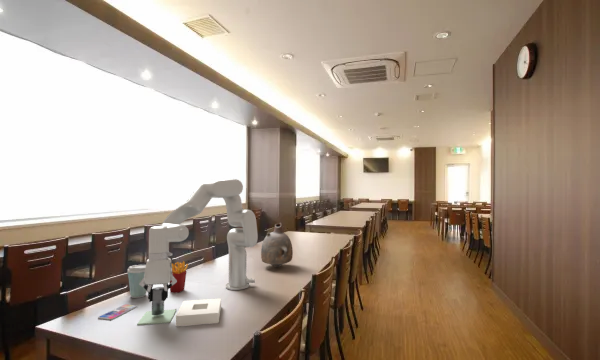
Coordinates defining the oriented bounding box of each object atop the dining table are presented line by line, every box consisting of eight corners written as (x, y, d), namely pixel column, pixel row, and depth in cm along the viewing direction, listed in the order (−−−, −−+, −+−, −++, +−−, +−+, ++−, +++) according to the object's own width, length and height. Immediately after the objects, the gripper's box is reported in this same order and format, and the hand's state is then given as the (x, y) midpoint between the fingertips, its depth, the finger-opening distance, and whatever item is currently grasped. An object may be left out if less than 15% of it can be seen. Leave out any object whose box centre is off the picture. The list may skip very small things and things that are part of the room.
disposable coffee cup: (134, 292, 155) (135, 262, 155) (155, 292, 155) (155, 263, 155) (121, 299, 144) (122, 268, 145) (143, 299, 144) (144, 268, 144)
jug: (252, 268, 202) (253, 223, 203) (273, 261, 220) (273, 220, 221) (281, 273, 188) (281, 225, 189) (300, 266, 206) (300, 222, 207)
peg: (165, 310, 127) (165, 286, 127) (162, 314, 122) (162, 290, 123) (153, 311, 126) (153, 287, 126) (150, 315, 121) (150, 290, 122)
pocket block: (221, 307, 135) (221, 298, 135) (218, 322, 119) (218, 312, 119) (183, 310, 132) (183, 300, 132) (175, 326, 116) (175, 316, 116)
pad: (176, 310, 131) (176, 309, 131) (169, 322, 119) (169, 321, 119) (146, 312, 129) (146, 311, 129) (137, 325, 117) (137, 323, 117)
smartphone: (138, 305, 136) (111, 319, 121) (138, 307, 136) (111, 321, 121) (125, 303, 138) (96, 317, 123) (124, 305, 137) (96, 319, 123)
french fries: (179, 293, 152) (179, 264, 153) (164, 292, 154) (165, 263, 155) (189, 288, 161) (189, 260, 162) (175, 287, 163) (175, 259, 163)
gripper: (181, 253, 130) (181, 295, 130) (139, 254, 127) (138, 298, 126) (178, 257, 123) (177, 302, 122) (133, 259, 120) (132, 305, 119)
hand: (158, 299), depth 124 cm, fingers closed on peg, 4 cm apart
